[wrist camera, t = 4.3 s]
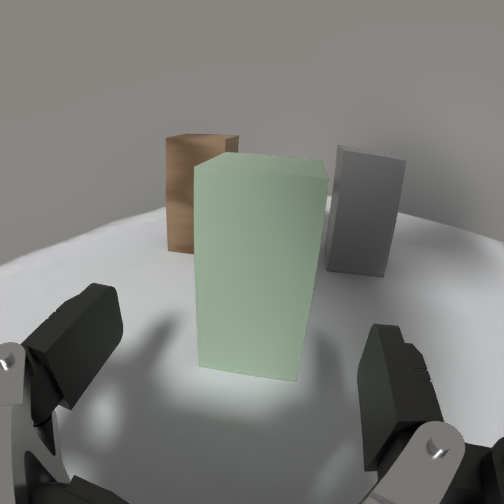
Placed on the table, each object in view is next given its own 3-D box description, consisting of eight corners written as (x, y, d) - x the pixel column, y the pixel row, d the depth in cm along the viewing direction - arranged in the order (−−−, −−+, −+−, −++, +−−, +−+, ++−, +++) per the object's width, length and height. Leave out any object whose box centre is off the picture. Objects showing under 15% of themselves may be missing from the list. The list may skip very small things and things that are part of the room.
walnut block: (234, 236, 32) (238, 135, 28) (221, 257, 28) (225, 139, 24) (186, 231, 33) (187, 133, 29) (168, 250, 29) (165, 137, 24)
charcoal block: (373, 253, 31) (390, 153, 27) (383, 277, 26) (406, 160, 22) (324, 247, 31) (337, 145, 27) (327, 270, 27) (344, 150, 23)
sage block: (300, 324, 20) (322, 160, 16) (295, 381, 15) (329, 178, 11) (221, 313, 20) (225, 152, 16) (198, 366, 16) (194, 166, 12)
